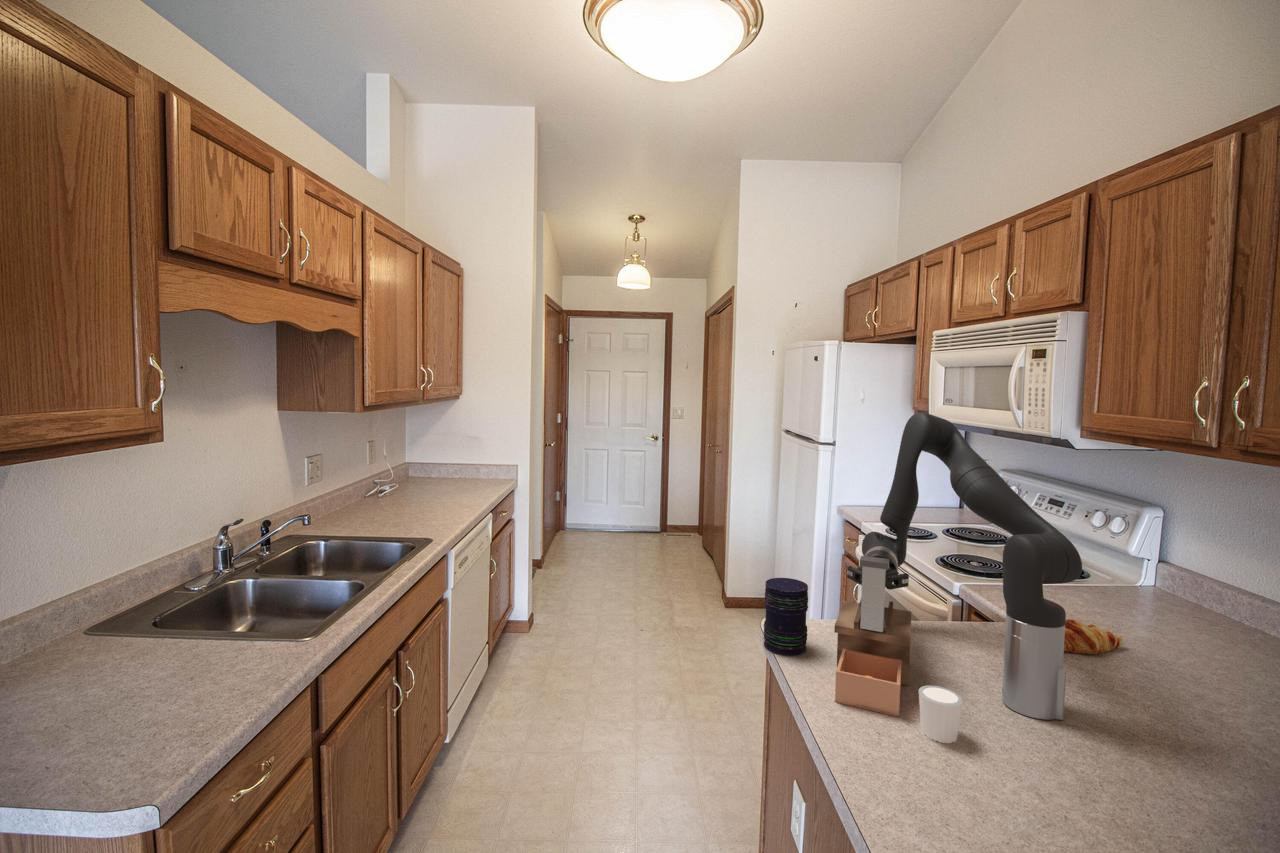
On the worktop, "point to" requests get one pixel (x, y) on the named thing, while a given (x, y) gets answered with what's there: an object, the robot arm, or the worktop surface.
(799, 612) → the dark blue ribbed barrel
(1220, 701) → the worktop surface
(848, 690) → the orange open drawer
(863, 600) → the grey metal tall block
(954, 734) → the white cylinder
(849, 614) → the shelf
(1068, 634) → the croissant
